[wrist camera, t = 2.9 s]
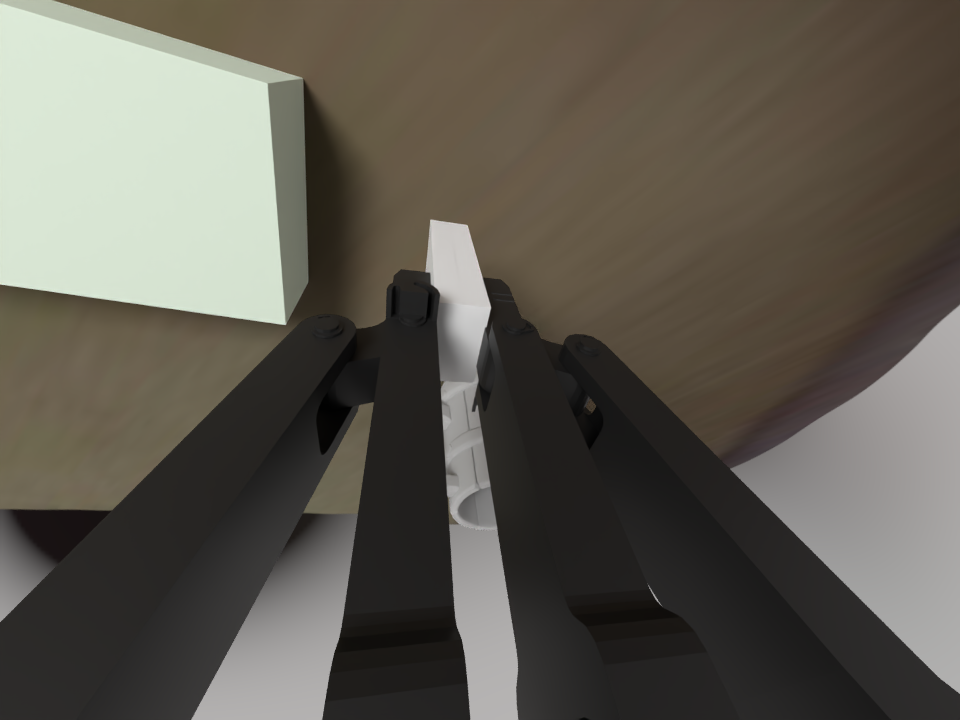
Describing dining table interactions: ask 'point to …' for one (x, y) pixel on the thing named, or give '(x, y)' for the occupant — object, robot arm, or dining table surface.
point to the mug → (466, 458)
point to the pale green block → (148, 168)
